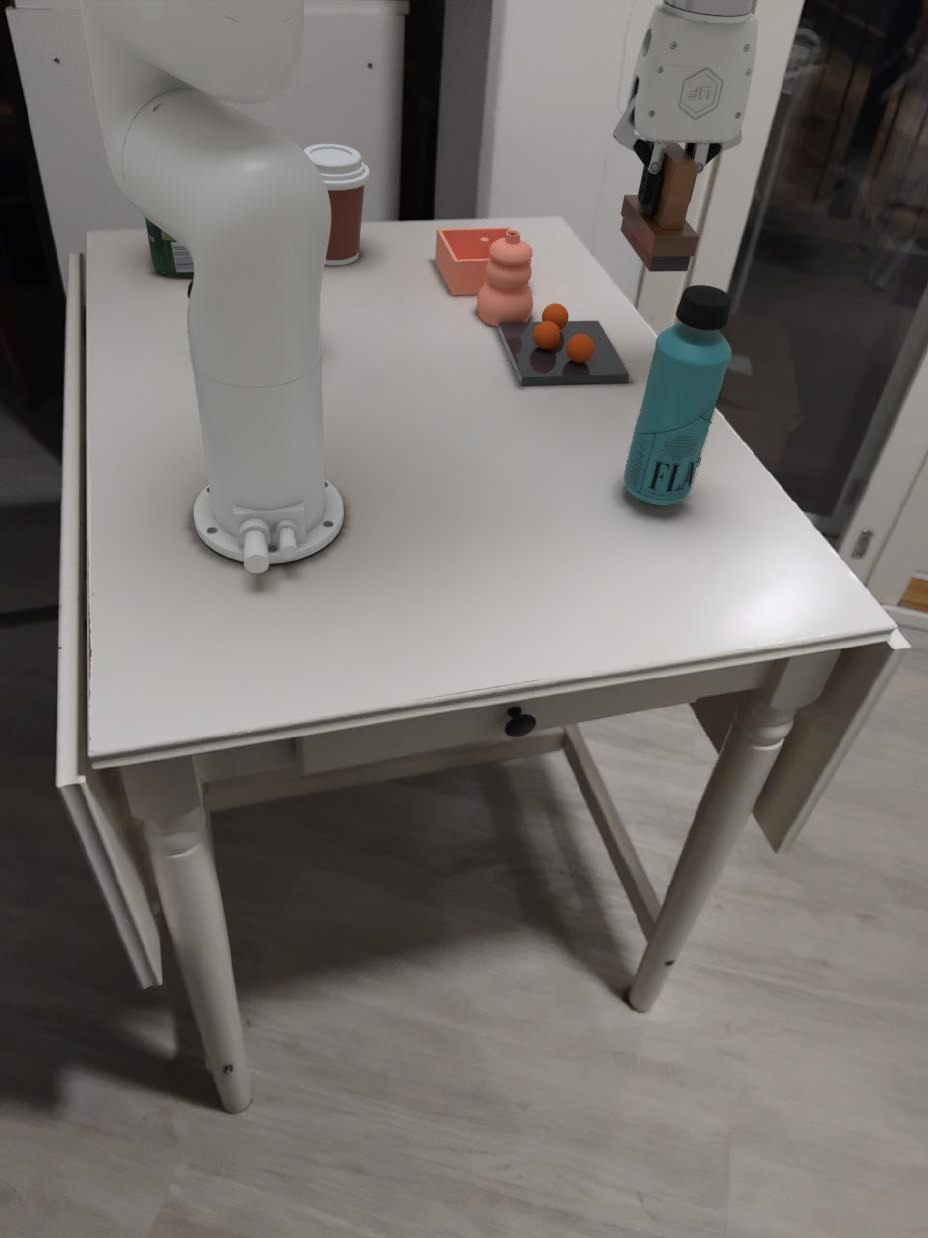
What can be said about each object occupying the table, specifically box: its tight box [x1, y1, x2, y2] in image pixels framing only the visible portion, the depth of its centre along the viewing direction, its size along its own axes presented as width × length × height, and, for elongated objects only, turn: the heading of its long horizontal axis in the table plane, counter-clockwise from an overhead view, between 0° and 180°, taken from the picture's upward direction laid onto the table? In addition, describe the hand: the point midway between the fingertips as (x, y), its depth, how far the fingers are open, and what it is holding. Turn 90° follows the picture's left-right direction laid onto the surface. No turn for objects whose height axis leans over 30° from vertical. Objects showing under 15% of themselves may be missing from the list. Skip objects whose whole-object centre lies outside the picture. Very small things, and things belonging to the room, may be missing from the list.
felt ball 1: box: [541, 302, 569, 330], centre depth 107 cm, size 3×3×3 cm
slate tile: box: [497, 320, 631, 386], centre depth 105 cm, size 12×12×1 cm
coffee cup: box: [302, 143, 371, 266], centre depth 115 cm, size 9×9×12 cm
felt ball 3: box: [566, 334, 594, 363], centre depth 102 cm, size 3×3×3 cm
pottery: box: [434, 226, 534, 328], centre depth 111 cm, size 18×10×10 cm, turn 14°
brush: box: [620, 142, 700, 273], centre depth 93 cm, size 10×4×10 cm, turn 11°
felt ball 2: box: [533, 321, 560, 350], centre depth 103 cm, size 3×3×3 cm
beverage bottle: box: [623, 284, 732, 506], centre depth 81 cm, size 6×7×20 cm
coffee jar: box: [144, 217, 194, 277], centre depth 108 cm, size 10×8×19 cm
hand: (661, 209), depth 93 cm, fingers closed on brush, 2 cm apart
